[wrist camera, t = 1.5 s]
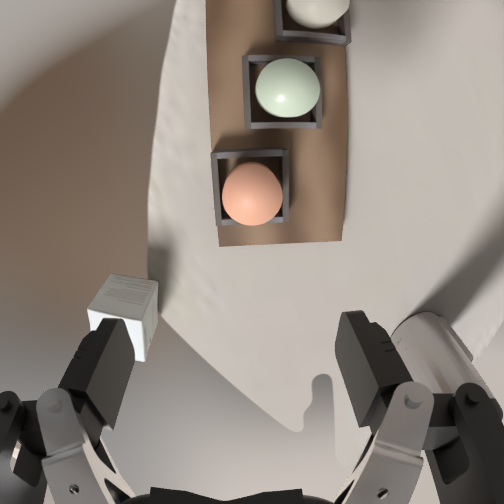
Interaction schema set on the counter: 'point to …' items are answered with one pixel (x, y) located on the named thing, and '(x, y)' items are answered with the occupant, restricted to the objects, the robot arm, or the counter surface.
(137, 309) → the product box
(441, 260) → the counter surface
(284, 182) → the button panel
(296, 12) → the cream button
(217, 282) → the counter surface
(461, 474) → the robot arm
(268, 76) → the sage button
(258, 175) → the terracotta button
